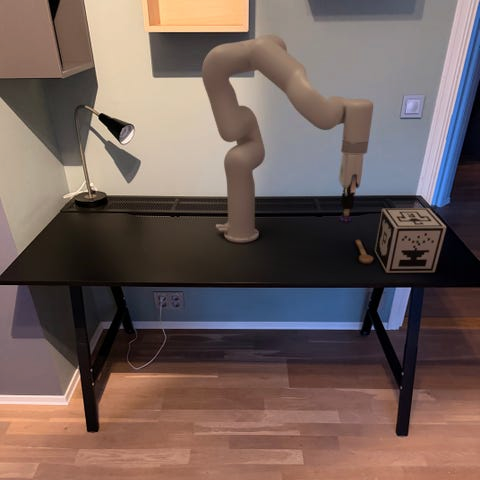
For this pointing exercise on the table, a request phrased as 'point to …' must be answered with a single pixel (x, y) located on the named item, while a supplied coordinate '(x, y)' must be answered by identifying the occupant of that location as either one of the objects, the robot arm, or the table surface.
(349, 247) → the table surface
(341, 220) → the toy lamp
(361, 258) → the wooden spoon
